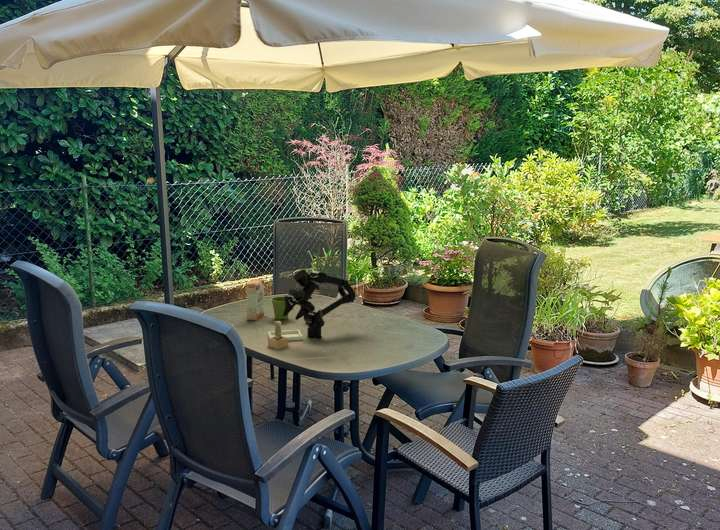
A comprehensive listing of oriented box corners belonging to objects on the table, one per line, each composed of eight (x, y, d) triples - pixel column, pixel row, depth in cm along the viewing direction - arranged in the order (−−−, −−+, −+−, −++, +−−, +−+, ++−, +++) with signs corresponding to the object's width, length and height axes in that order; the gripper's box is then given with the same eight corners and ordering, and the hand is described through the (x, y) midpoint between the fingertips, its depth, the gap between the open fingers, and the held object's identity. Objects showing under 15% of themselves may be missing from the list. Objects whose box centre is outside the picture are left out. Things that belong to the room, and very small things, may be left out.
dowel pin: (281, 344, 299) (280, 321, 297) (281, 346, 296) (281, 322, 294) (274, 345, 298) (274, 321, 296) (275, 347, 295) (275, 323, 293)
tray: (299, 334, 318) (299, 329, 318) (302, 340, 307) (302, 336, 306) (268, 336, 314) (268, 331, 314) (270, 343, 303) (270, 338, 303)
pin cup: (279, 343, 302) (279, 335, 301) (288, 347, 297) (288, 338, 296) (268, 346, 297) (267, 337, 296) (276, 350, 292) (276, 341, 291)
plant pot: (290, 321, 343) (290, 301, 341) (269, 320, 343) (269, 301, 341) (293, 315, 354) (293, 296, 352) (273, 315, 354) (272, 296, 352)
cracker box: (257, 320, 343) (256, 284, 339) (246, 320, 344) (245, 283, 340) (265, 314, 356) (264, 279, 352) (255, 313, 357) (254, 278, 353)
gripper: (285, 279, 307) (268, 304, 301) (310, 285, 294) (292, 312, 288) (298, 292, 314) (281, 317, 308) (322, 298, 301) (305, 324, 295)
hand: (289, 317), depth 300 cm, fingers open, 9 cm apart
